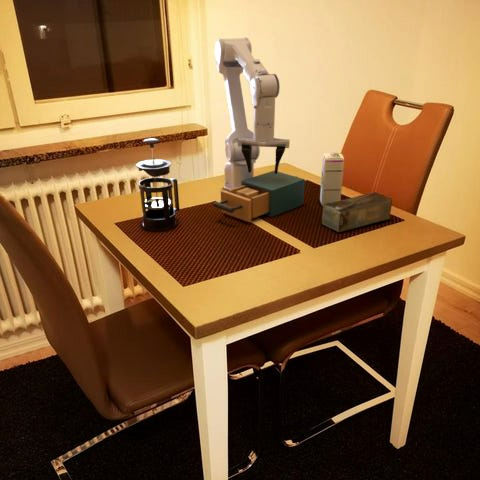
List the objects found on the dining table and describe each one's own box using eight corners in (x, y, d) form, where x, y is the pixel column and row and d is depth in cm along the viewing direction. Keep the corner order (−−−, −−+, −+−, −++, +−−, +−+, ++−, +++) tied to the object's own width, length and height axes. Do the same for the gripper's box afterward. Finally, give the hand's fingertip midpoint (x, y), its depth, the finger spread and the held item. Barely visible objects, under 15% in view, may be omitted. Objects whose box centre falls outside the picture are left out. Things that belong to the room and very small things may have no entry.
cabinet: (271, 217, 142) (272, 190, 138) (241, 206, 150) (241, 180, 145) (303, 204, 150) (304, 179, 146) (273, 195, 158) (274, 170, 154)
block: (236, 208, 143) (236, 191, 140) (247, 204, 145) (247, 187, 142) (247, 212, 140) (247, 194, 137) (258, 208, 143) (258, 191, 140)
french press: (151, 234, 132) (142, 146, 119) (134, 224, 138) (123, 139, 125) (188, 223, 138) (182, 138, 125) (169, 214, 144) (162, 132, 131)
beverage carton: (319, 223, 138) (321, 201, 134) (371, 211, 146) (375, 189, 142) (337, 233, 132) (340, 210, 128) (391, 220, 140) (395, 197, 136)
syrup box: (340, 206, 149) (345, 157, 141) (320, 206, 149) (325, 157, 141) (337, 199, 154) (342, 152, 146) (318, 199, 154) (322, 152, 146)
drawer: (236, 226, 134) (235, 204, 131) (208, 216, 141) (208, 194, 137) (280, 209, 145) (281, 189, 141) (253, 200, 151) (253, 180, 148)
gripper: (236, 125, 134) (236, 175, 141) (289, 127, 132) (286, 177, 140) (239, 120, 140) (240, 168, 147) (290, 121, 138) (288, 170, 145)
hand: (262, 172), depth 144 cm, fingers open, 7 cm apart
